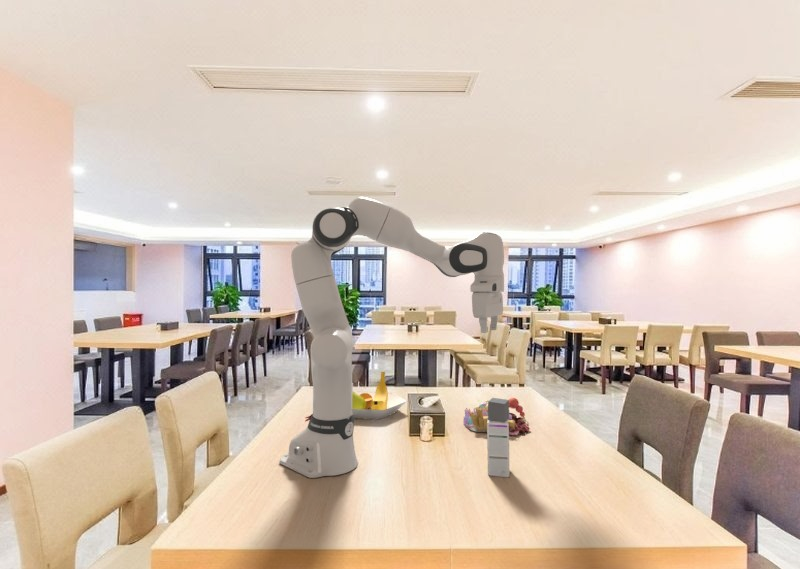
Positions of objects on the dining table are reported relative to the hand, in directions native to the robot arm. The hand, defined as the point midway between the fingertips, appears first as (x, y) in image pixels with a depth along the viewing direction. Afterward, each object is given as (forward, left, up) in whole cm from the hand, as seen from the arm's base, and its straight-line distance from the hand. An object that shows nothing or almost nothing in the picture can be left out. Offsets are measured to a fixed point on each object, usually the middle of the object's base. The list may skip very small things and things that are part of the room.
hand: (489, 331), depth 124 cm
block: (+6, -11, -23) cm, 26 cm away
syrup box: (+6, -11, -37) cm, 39 cm away
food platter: (-5, +27, -38) cm, 47 cm away
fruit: (-54, +17, -38) cm, 68 cm away
